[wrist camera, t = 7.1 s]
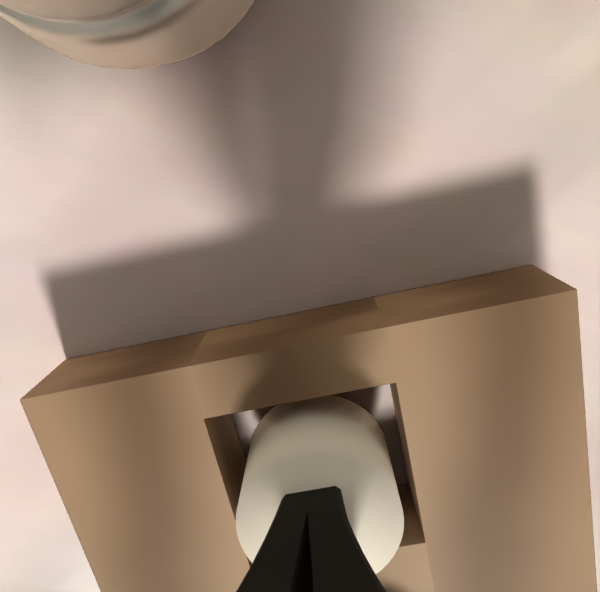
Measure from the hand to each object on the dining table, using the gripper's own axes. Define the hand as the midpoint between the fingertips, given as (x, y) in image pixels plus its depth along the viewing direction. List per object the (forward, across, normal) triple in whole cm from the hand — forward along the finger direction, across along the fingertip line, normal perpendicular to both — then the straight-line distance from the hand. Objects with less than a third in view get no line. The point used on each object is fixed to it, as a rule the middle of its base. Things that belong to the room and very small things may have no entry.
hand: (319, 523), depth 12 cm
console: (+4, 0, +7) cm, 8 cm away
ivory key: (+3, 0, 0) cm, 3 cm away
